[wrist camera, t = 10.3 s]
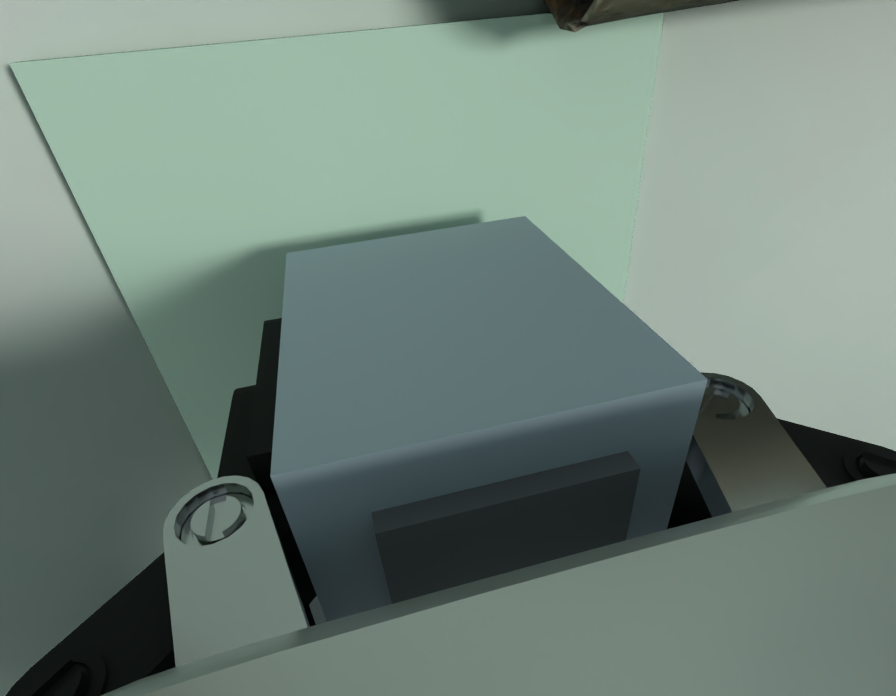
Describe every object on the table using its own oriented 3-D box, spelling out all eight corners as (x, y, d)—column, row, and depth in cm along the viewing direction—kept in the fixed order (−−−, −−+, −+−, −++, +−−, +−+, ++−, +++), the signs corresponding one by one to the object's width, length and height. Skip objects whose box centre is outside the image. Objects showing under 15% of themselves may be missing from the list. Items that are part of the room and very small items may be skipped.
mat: (654, 2, 11) (665, 2, 10) (599, 427, 17) (604, 435, 17) (19, 61, 9) (8, 63, 8) (235, 512, 15) (234, 522, 15)
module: (525, 216, 11) (725, 394, 6) (522, 396, 14) (654, 626, 8) (286, 253, 10) (268, 499, 5) (335, 436, 13) (357, 715, 8)
